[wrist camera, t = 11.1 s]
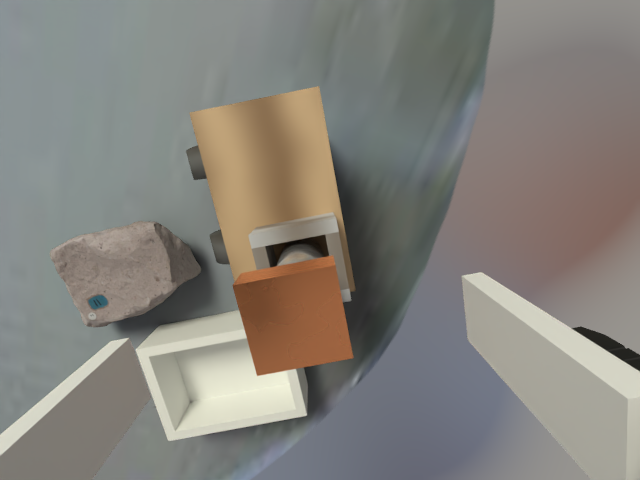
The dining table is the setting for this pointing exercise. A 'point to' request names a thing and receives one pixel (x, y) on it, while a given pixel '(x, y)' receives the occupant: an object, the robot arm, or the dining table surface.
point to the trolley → (270, 181)
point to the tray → (215, 379)
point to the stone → (123, 270)
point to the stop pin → (294, 310)
